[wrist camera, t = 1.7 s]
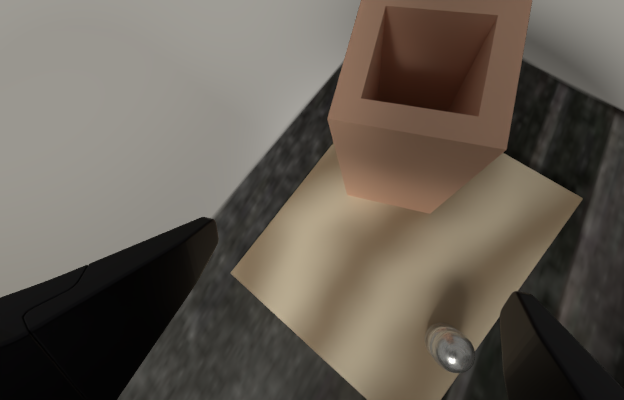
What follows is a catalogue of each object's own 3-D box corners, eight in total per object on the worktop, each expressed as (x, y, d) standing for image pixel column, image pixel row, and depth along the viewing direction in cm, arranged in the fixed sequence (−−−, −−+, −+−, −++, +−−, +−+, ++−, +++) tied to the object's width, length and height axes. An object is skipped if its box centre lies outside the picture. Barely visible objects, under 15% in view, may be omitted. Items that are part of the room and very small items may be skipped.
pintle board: (572, 201, 21) (635, 181, 16) (409, 432, 19) (423, 486, 15) (380, 89, 25) (383, 47, 20) (236, 272, 24) (202, 274, 19)
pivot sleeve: (446, 136, 22) (533, -7, 11) (429, 213, 21) (506, 149, 10) (365, 122, 24) (366, -18, 12) (347, 194, 22) (327, 118, 11)
